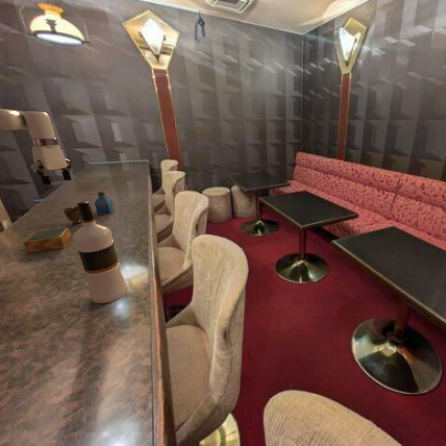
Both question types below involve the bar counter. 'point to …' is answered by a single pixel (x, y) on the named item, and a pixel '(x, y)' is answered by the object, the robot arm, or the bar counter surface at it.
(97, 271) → the vodka
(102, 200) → the perfume bottle
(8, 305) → the bar counter surface
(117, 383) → the bar counter surface
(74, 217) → the cup
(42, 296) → the bar counter surface
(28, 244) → the riser
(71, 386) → the bar counter surface
